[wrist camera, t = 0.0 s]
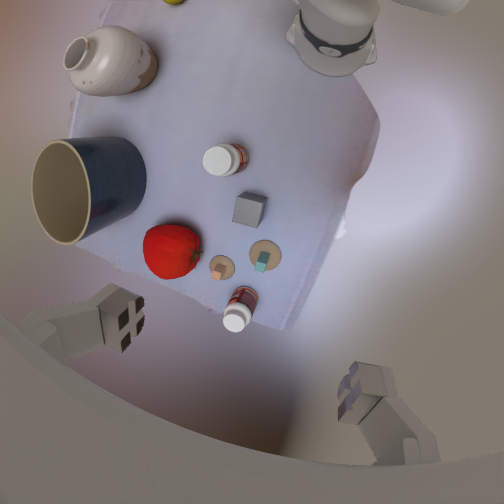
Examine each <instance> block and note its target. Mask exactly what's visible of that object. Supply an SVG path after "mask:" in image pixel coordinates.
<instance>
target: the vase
mask: <svg viewBox="0 0 504 504" xmlns="http://www.w3.org/2000/svg"><path fill="white" fill-rule="evenodd" d="M63 67H64V69H65V70H67V71H69V78H70V81H71V82H72V85H73V86H74V87H75V88H76V89H77V90H79V91H80V92H82V93H84V94H87V95H91V96H100V97H105V96H117V95H123V94H128V93H131V92H134V91H137V90H140V89H142V88H144V87H145V86H147V85H148V84H149V83H150V82H151V81H152V80H153V78H154V77H155V75H156V72H157V60H156V57H155V56H154V54H153V52H152V50H151V48H150V47H149V46H148V45H147V44H146V42H145V41H144V40H143V39H141V38H140V37H139V36H138V35H136V34H135V33H134V32H132V31H130V30H128V29H126V28H123V27H119V26H104V27H100V28H97V29H95V30H93V31H92V32H90V33H89V34H87V35H86V36H81V37H78V38H76V39H75V40H74V41H73V42H72V43H71V44H70V45H69V46H68V48H67V49H66V52H65V54H64V57H63Z"/></svg>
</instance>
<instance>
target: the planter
mask: <svg viewBox="0 0 504 504" xmlns="http://www.w3.org/2000/svg"><path fill="white" fill-rule="evenodd" d="M145 187H146V170H145V165H144V162H143V159H142V157H141V155H140V153H139V151H138V150H137V149H136V147H135V146H134V145H133V144H131V143H130V142H129V141H127V140H125V139H122V138H117V137H107V138H103V137H100V138H72V139H60V140H54V141H51V142H49V143H48V144H46V145H45V146H44V147H43V148H42V150H41V151H40V152H39V154H38V156H37V158H36V161H35V164H34V167H33V171H32V177H31V195H32V202H33V207H34V211H35V214H36V216H37V219H38V221H39V223H40V225H41V227H42V228H43V230H44V231H45V233H46V234H47V235H48V236H49V237H50V238H51V239H52V240H54V241H55V242H57V243H59V244H61V245H72V244H75V243H77V242H78V241H80V240H82V239H84V238H86V237H88V236H90V235H92V234H94V233H96V232H97V231H99V230H101V229H103V228H105V227H107V226H109V225H111V224H113V223H114V222H116V221H118V220H120V219H122V218H124V217H126V216H128V215H130V214H131V213H132V212H134V211H135V210H136V208H137V207H138V206H139V204H140V202H141V200H142V198H143V196H144V192H145Z"/></svg>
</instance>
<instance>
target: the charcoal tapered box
mask: <svg viewBox="0 0 504 504" xmlns="http://www.w3.org/2000/svg"><path fill="white" fill-rule="evenodd" d="M266 202H267V198H266V197H262V196H258V195H254V194H250V193H247V192H244V193H242V194H241V195H239V196H238V197H237V200H236V205H235V209H234V214H233V219H232V222H236V223H239V224H243V225H247V226H250V227H254V228H257V227H258V226H259V224H260V223H261V221H262V219H263V215H264V211H265V206H266Z"/></svg>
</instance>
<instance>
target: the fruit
mask: <svg viewBox="0 0 504 504" xmlns="http://www.w3.org/2000/svg"><path fill="white" fill-rule="evenodd" d="M163 1H164V2H166V3H168V4H177V3H179V2H181V1H182V0H163Z"/></svg>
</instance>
